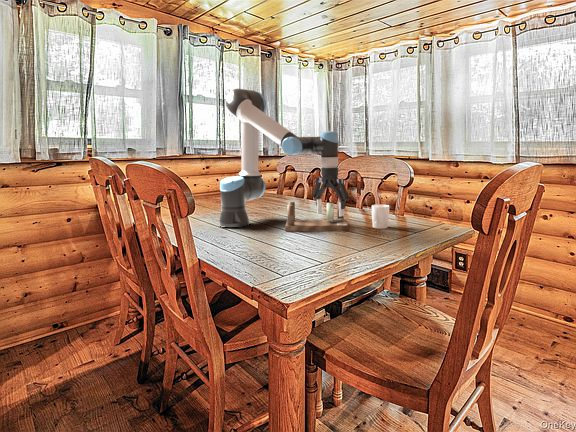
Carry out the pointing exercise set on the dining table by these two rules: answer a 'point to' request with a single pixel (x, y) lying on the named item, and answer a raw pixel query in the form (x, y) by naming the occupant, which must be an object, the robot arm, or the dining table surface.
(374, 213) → the white cup
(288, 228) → the wooden peg stand
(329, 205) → the hinged leg
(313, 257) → the dining table surface
